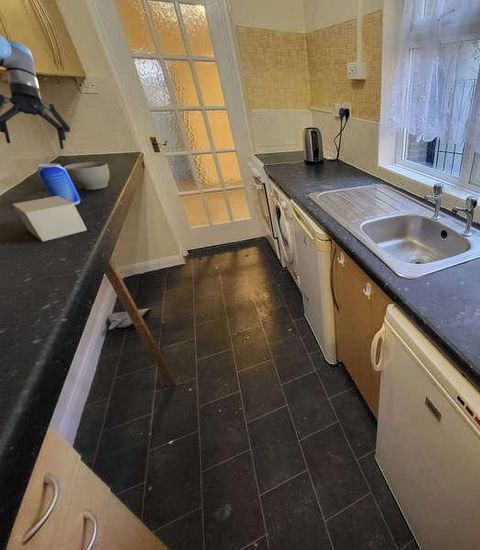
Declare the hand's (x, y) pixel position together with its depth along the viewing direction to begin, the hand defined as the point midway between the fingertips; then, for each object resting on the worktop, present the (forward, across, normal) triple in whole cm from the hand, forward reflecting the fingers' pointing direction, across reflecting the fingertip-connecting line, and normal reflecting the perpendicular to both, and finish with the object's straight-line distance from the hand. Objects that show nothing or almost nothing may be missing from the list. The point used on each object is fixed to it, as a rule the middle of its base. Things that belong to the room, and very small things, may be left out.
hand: (36, 144), depth 111 cm
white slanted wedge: (+36, -1, +16) cm, 39 cm away
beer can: (+19, -6, -14) cm, 24 cm away
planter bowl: (+5, -18, -35) cm, 39 cm away
